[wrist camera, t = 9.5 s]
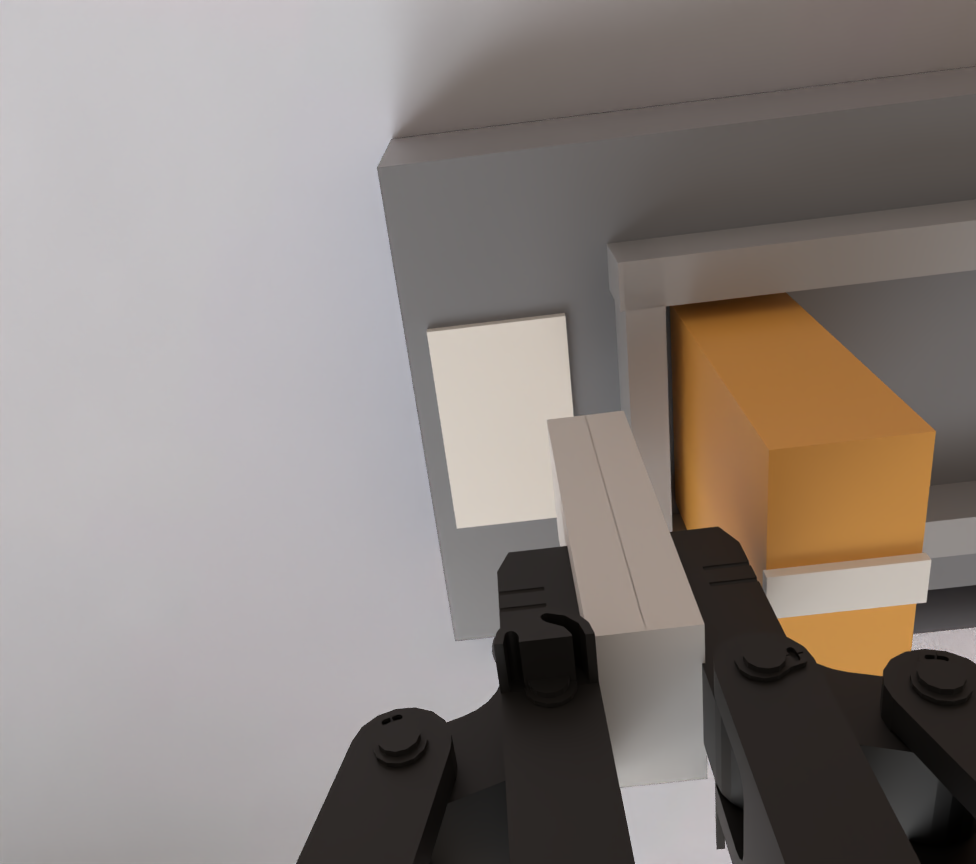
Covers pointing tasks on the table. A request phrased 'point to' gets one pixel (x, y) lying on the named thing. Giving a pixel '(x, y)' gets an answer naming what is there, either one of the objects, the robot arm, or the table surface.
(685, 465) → the breaker lever
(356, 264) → the table surface
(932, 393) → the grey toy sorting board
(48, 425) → the table surface
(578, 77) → the table surface
